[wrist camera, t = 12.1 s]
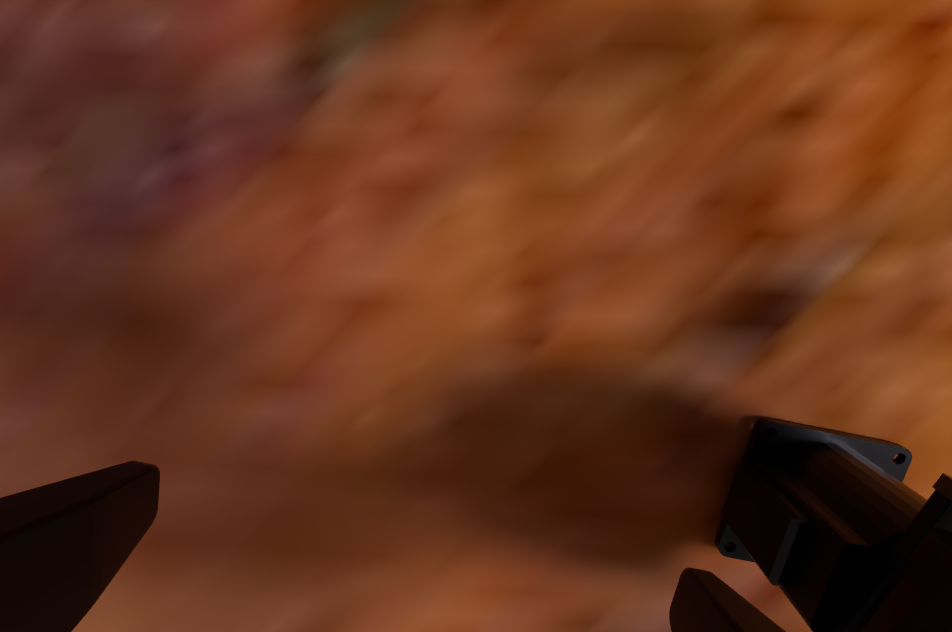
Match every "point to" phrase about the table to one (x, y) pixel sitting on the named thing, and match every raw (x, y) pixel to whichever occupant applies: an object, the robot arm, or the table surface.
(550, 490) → the table surface
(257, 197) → the table surface
